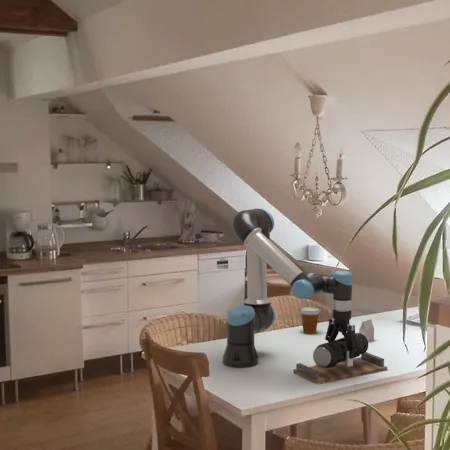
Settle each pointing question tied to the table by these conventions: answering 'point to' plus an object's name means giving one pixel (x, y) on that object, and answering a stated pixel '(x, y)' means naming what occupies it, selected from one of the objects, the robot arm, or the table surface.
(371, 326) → the grey paper bag
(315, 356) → the muzzle brake
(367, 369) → the mounting board
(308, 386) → the table surface
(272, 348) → the table surface
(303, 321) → the disposable coffee cup
